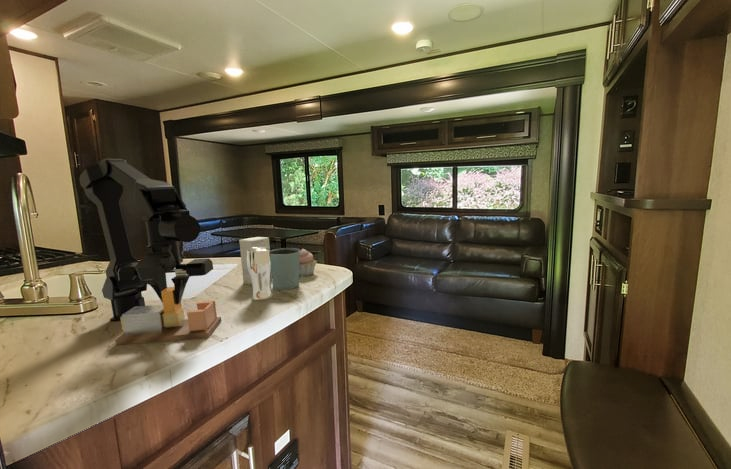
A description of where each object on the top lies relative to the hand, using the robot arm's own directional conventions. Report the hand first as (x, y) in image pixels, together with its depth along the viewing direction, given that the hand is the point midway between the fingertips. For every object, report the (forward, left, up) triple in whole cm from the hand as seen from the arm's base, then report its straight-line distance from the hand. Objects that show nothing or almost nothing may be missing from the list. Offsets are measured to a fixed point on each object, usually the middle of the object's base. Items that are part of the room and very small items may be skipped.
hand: (172, 304), depth 79 cm
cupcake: (+27, +43, -7) cm, 51 cm away
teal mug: (+22, +31, -7) cm, 39 cm away
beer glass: (+16, +21, -7) cm, 27 cm away
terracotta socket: (+7, 0, -6) cm, 9 cm away
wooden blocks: (-5, 0, -5) cm, 7 cm away
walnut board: (-1, 0, -7) cm, 7 cm away
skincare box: (+11, +38, -7) cm, 40 cm away
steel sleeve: (-6, 0, -6) cm, 8 cm away
